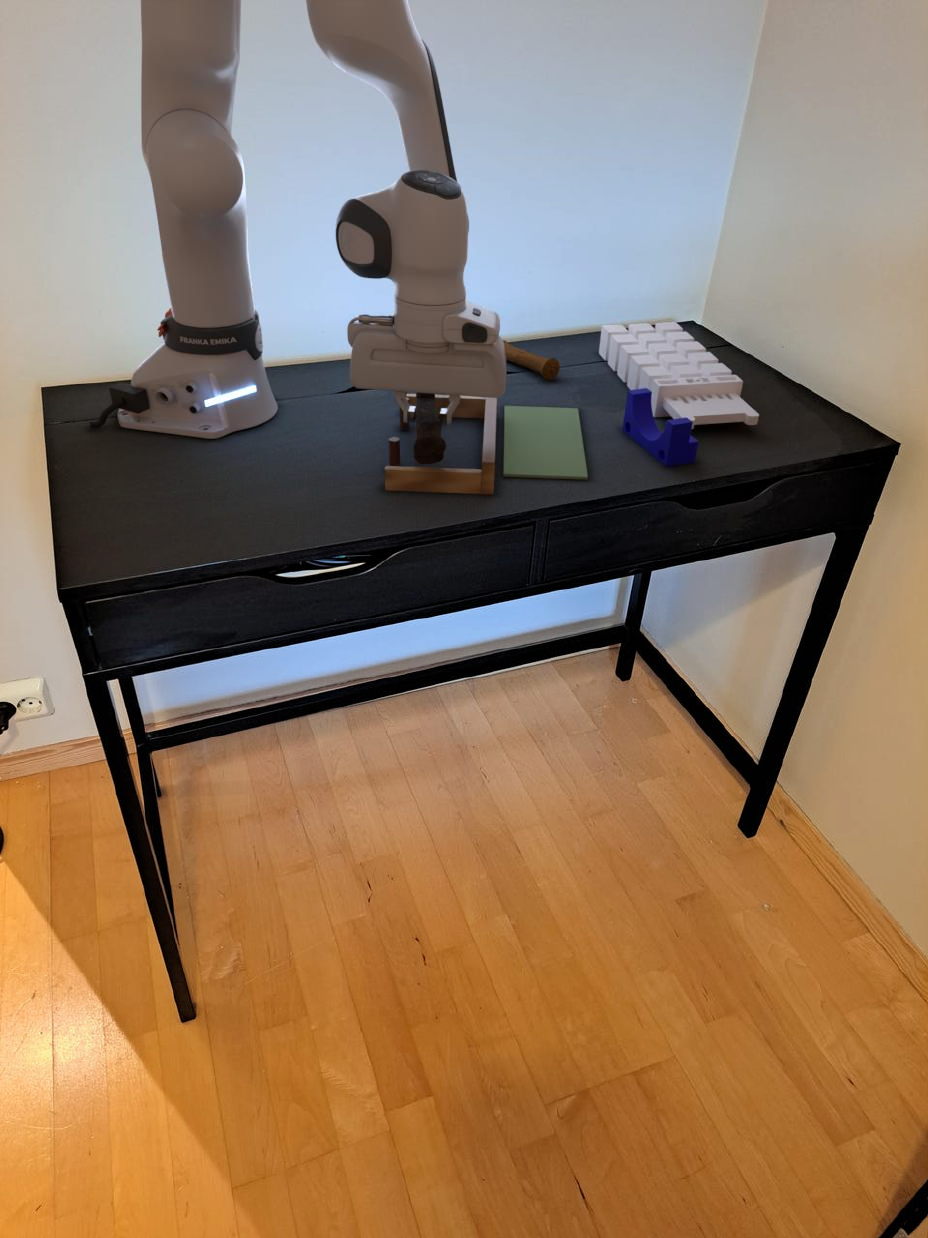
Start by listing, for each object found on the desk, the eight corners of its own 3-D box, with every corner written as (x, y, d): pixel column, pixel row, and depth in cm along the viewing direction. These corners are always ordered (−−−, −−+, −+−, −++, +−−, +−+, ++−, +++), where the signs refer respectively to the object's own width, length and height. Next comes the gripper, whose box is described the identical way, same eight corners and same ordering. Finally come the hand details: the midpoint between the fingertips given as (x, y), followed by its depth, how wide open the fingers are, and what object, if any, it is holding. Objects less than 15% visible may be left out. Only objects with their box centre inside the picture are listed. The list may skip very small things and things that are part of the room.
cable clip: (694, 461, 122) (702, 420, 118) (665, 466, 121) (672, 424, 117) (649, 425, 131) (655, 386, 127) (622, 430, 129) (627, 390, 126)
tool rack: (385, 490, 114) (384, 458, 111) (403, 412, 133) (403, 383, 130) (493, 494, 113) (494, 462, 111) (496, 415, 133) (497, 386, 130)
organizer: (675, 321, 154) (769, 403, 126) (670, 349, 156) (761, 435, 129) (601, 325, 151) (681, 409, 124) (598, 353, 154) (675, 441, 127)
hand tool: (445, 466, 113) (445, 431, 111) (413, 465, 113) (413, 431, 110) (444, 405, 129) (444, 374, 126) (416, 405, 128) (416, 374, 126)
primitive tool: (471, 347, 155) (472, 327, 153) (496, 341, 158) (497, 321, 156) (544, 383, 143) (546, 362, 141) (569, 376, 146) (572, 355, 144)
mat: (503, 476, 117) (503, 473, 117) (504, 407, 135) (504, 405, 135) (587, 479, 117) (587, 476, 117) (577, 410, 135) (578, 408, 134)
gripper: (341, 320, 109) (346, 426, 118) (509, 331, 109) (502, 437, 117) (351, 305, 115) (354, 407, 123) (511, 315, 114) (504, 417, 122)
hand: (427, 422), depth 120 cm, fingers closed on hand tool, 3 cm apart
